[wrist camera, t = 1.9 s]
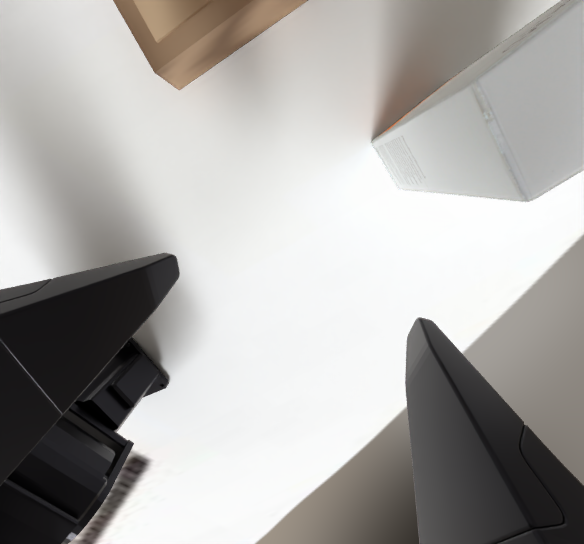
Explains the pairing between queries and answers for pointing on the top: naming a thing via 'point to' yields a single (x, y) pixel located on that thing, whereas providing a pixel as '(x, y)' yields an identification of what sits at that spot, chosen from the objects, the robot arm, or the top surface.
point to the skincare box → (500, 118)
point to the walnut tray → (197, 31)
